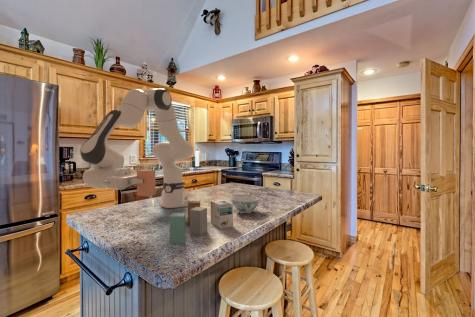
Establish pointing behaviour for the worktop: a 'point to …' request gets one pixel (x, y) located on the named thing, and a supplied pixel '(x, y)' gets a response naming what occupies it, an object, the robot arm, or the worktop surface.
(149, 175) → the terracotta block
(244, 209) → the chinaware
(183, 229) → the muted teal block
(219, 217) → the light bulb box
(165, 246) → the worktop surface
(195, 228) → the slate-grey block
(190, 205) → the walnut block
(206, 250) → the worktop surface
